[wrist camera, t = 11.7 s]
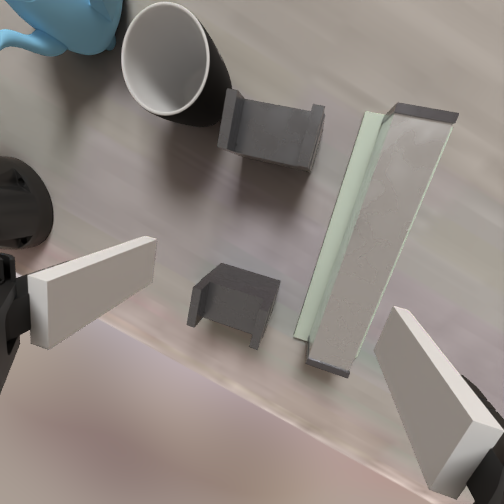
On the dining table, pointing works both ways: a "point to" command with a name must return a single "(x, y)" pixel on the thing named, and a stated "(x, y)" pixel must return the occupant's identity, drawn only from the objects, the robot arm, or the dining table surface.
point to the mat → (345, 222)
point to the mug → (174, 66)
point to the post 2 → (234, 300)
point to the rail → (376, 231)
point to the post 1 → (271, 131)
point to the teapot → (65, 26)
